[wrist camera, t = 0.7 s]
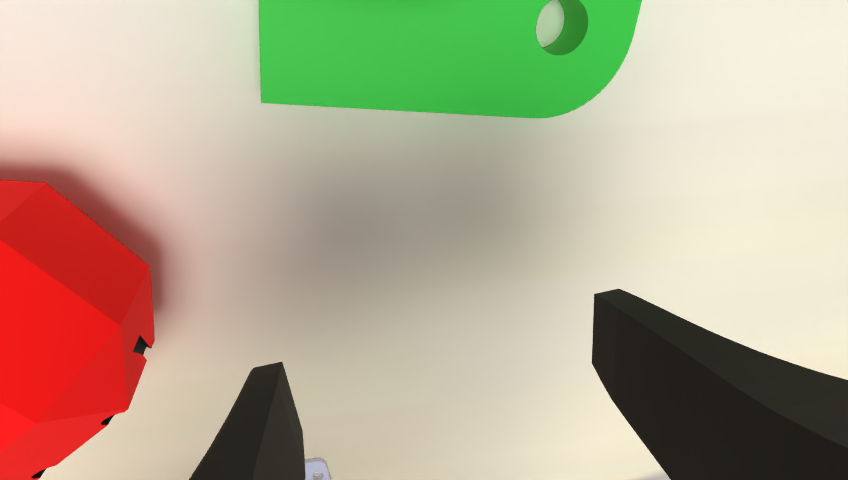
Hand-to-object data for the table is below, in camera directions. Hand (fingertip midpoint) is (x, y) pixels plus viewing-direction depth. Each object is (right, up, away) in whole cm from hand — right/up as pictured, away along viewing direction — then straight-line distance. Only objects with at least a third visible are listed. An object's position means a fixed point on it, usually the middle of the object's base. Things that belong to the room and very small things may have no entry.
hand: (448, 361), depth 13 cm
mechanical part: (0, +11, +6) cm, 12 cm away
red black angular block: (-14, +2, +7) cm, 16 cm away
